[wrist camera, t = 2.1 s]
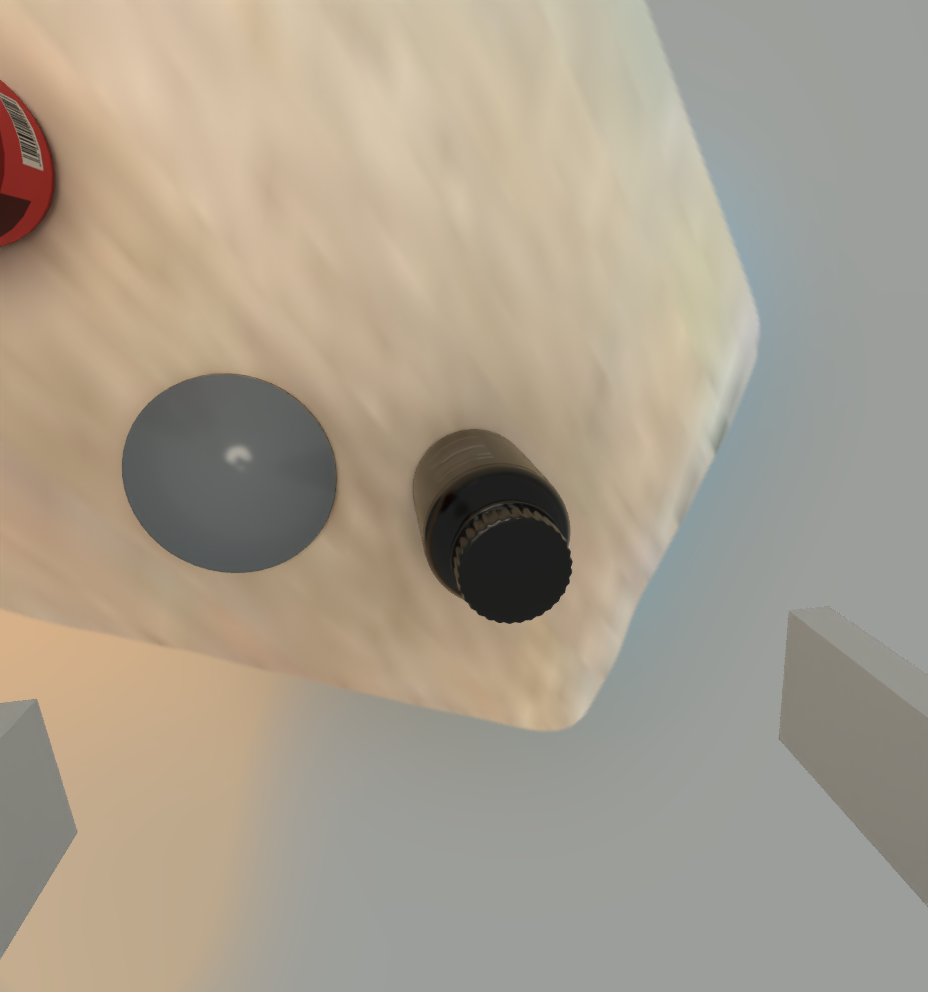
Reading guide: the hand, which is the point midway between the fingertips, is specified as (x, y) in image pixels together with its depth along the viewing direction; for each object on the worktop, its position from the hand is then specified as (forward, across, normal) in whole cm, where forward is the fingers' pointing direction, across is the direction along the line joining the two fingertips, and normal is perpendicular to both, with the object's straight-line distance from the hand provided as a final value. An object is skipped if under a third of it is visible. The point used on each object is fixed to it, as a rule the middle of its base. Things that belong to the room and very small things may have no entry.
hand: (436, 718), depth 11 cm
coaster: (+25, -10, -1) cm, 27 cm away
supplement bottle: (+26, +3, -3) cm, 26 cm away
